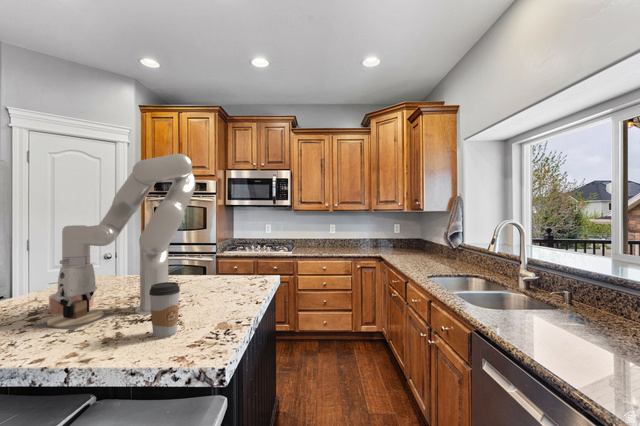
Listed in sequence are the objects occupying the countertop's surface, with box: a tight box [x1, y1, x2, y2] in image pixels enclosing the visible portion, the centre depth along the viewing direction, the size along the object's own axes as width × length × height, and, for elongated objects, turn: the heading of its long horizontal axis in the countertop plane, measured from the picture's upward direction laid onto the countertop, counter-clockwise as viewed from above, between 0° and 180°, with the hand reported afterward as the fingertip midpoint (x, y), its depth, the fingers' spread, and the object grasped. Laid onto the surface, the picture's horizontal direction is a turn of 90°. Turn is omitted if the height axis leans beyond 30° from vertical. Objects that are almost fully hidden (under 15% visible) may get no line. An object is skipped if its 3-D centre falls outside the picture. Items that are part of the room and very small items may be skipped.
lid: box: [46, 300, 104, 329], centre depth 105 cm, size 15×15×6 cm
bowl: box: [48, 293, 95, 314], centre depth 118 cm, size 13×13×6 cm
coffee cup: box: [149, 281, 181, 339], centre depth 93 cm, size 8×8×15 cm
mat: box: [31, 312, 117, 331], centre depth 105 cm, size 16×16×1 cm
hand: (76, 314), depth 105 cm, fingers open, 5 cm apart
